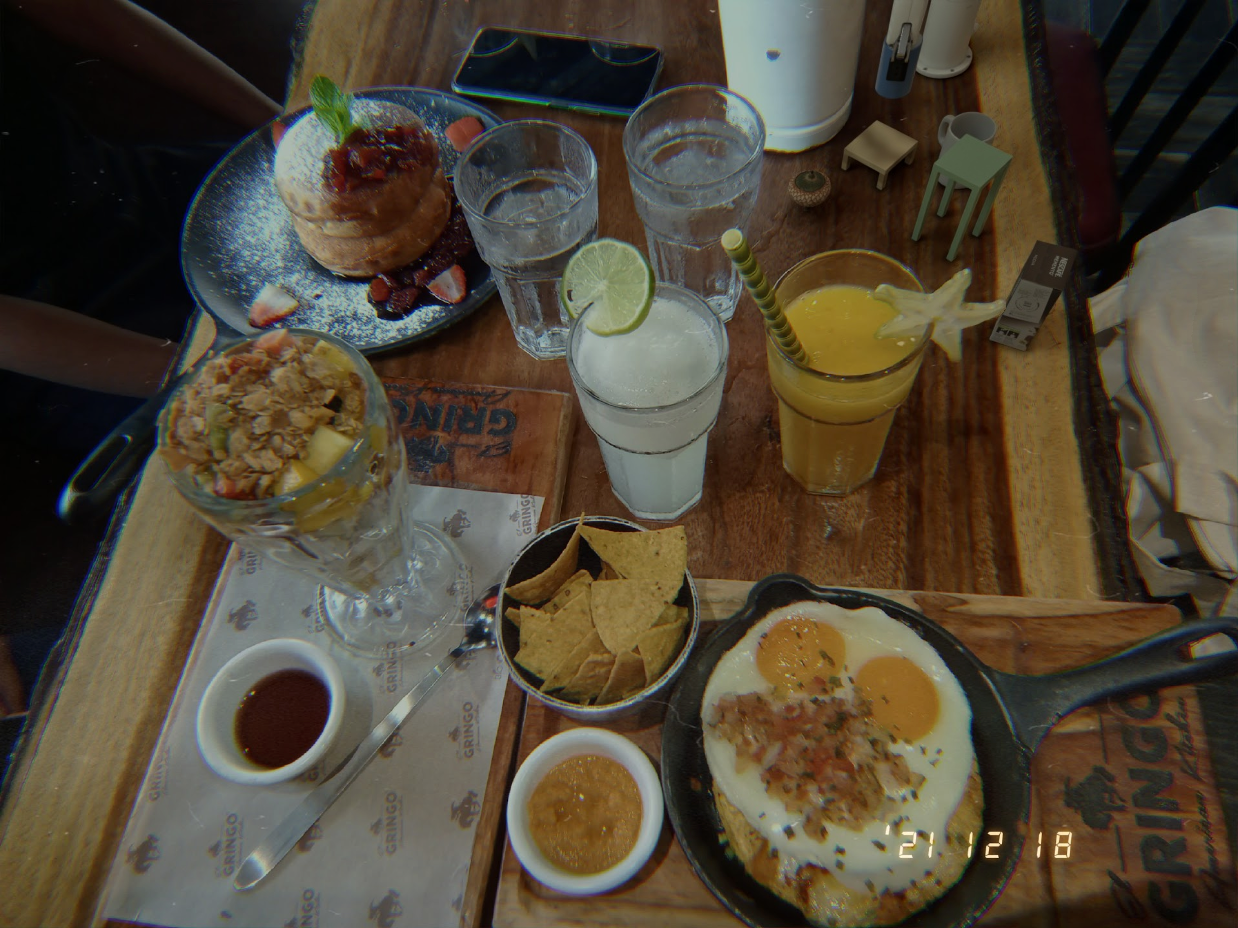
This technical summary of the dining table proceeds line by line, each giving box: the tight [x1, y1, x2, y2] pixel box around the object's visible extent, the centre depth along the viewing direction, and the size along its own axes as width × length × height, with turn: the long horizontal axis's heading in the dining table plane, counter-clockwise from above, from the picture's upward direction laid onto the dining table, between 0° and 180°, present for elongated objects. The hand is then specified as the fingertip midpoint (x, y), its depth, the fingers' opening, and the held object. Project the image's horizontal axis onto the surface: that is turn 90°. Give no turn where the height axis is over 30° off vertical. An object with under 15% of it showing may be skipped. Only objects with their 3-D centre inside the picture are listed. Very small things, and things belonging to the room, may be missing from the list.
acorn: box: [787, 169, 832, 212], centre depth 142 cm, size 8×8×10 cm
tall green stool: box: [911, 134, 1014, 262], centre depth 131 cm, size 9×9×18 cm
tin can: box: [874, 32, 923, 100], centre depth 129 cm, size 6×6×9 cm
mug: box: [937, 111, 998, 190], centre depth 141 cm, size 12×8×11 cm
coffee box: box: [989, 239, 1079, 352], centre depth 121 cm, size 9×6×16 cm
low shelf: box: [840, 120, 919, 191], centre depth 147 cm, size 10×10×5 cm
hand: (898, 65), depth 130 cm, fingers closed on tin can, 6 cm apart
